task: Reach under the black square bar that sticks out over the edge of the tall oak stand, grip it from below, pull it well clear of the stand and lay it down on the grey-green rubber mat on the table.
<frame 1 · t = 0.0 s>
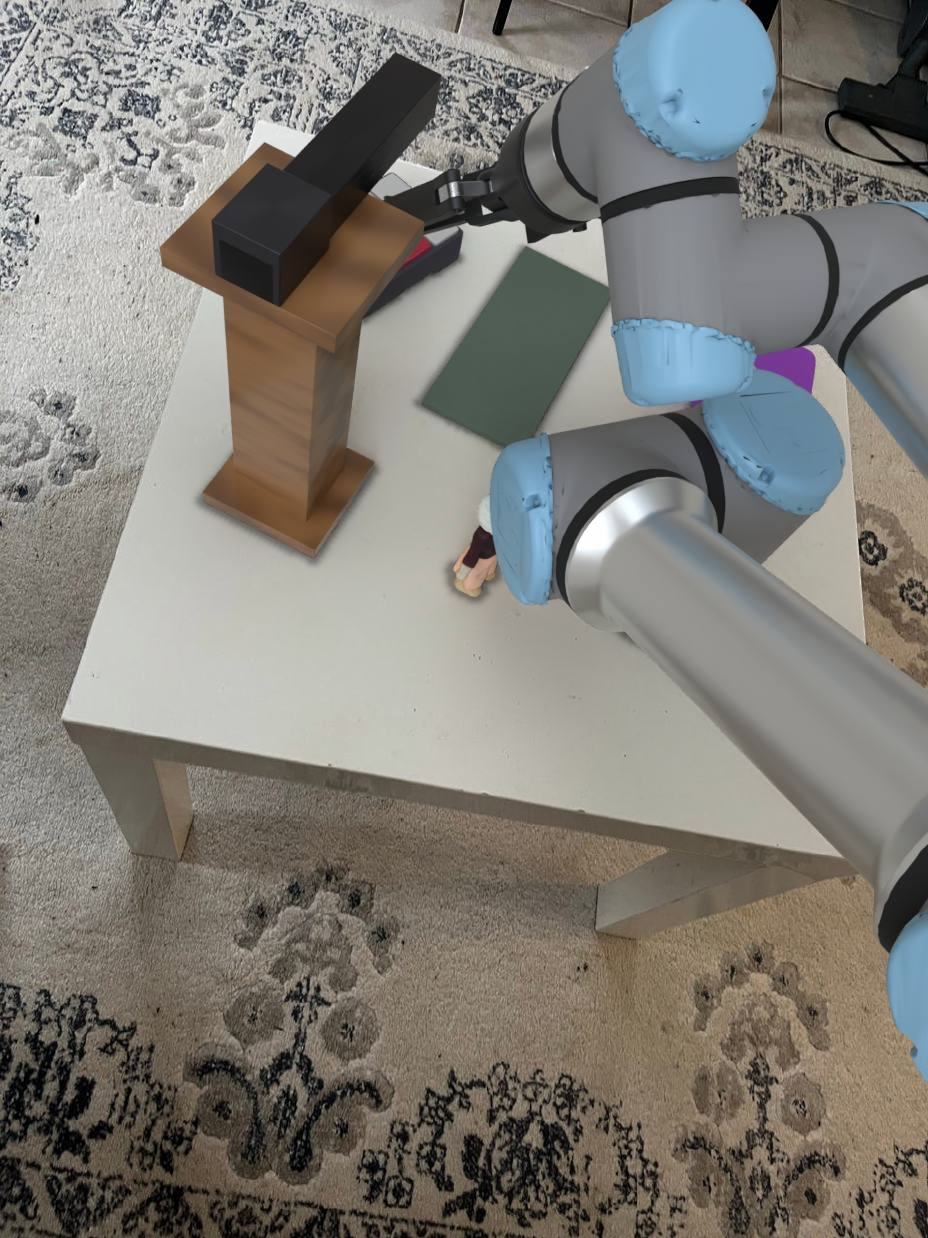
hand: (457, 234, 77), 15 cm above the table, tool tilted 35°, fingers open, 13 cm apart
black square bar: (337, 189, 58), point 28 cm above the table, touching stand
grandmother figurine: (470, 582, 80), on the table, touching arm
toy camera: (729, 415, 95), on the table
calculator: (374, 259, 95), on the table
mat: (522, 345, 93), on the table
stand: (290, 485, 81), on the table
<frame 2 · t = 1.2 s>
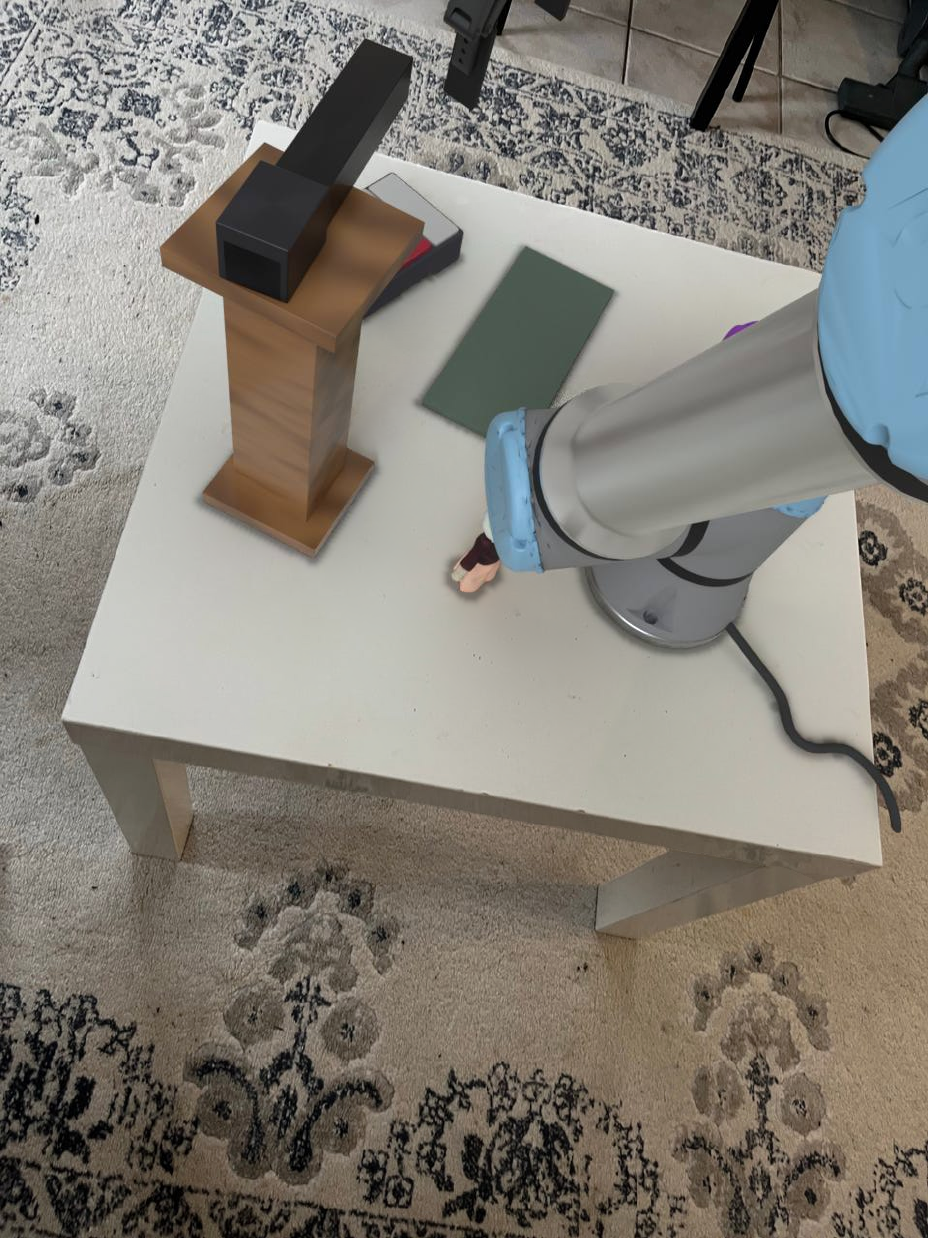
hand: (506, 52, 72), 26 cm above the table, tool pointing down, fingers open, 13 cm apart
black square bar: (324, 180, 58), point 28 cm above the table, touching stand
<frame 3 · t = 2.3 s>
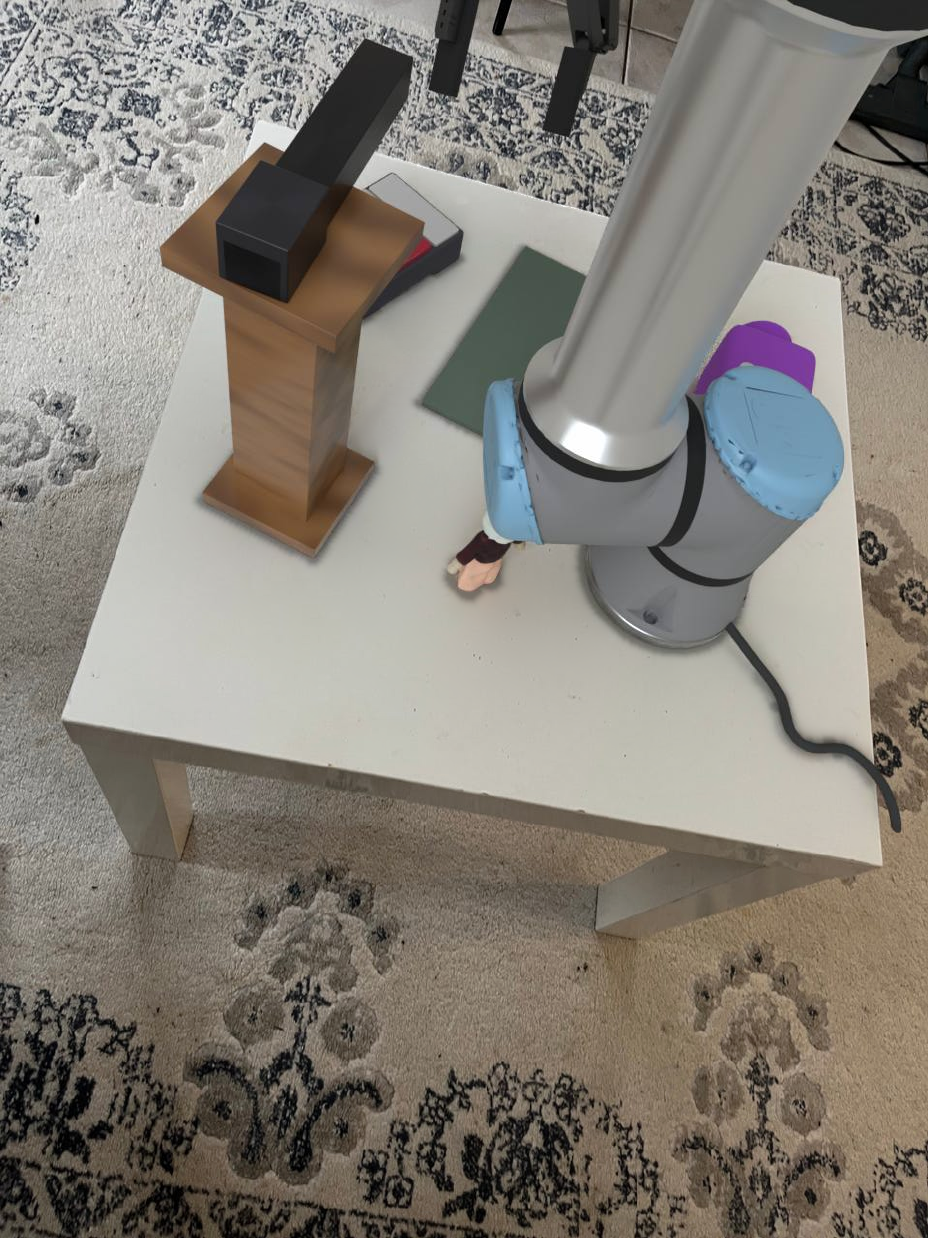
hand: (502, 115, 74), 22 cm above the table, tool tilted 35°, fingers open, 13 cm apart
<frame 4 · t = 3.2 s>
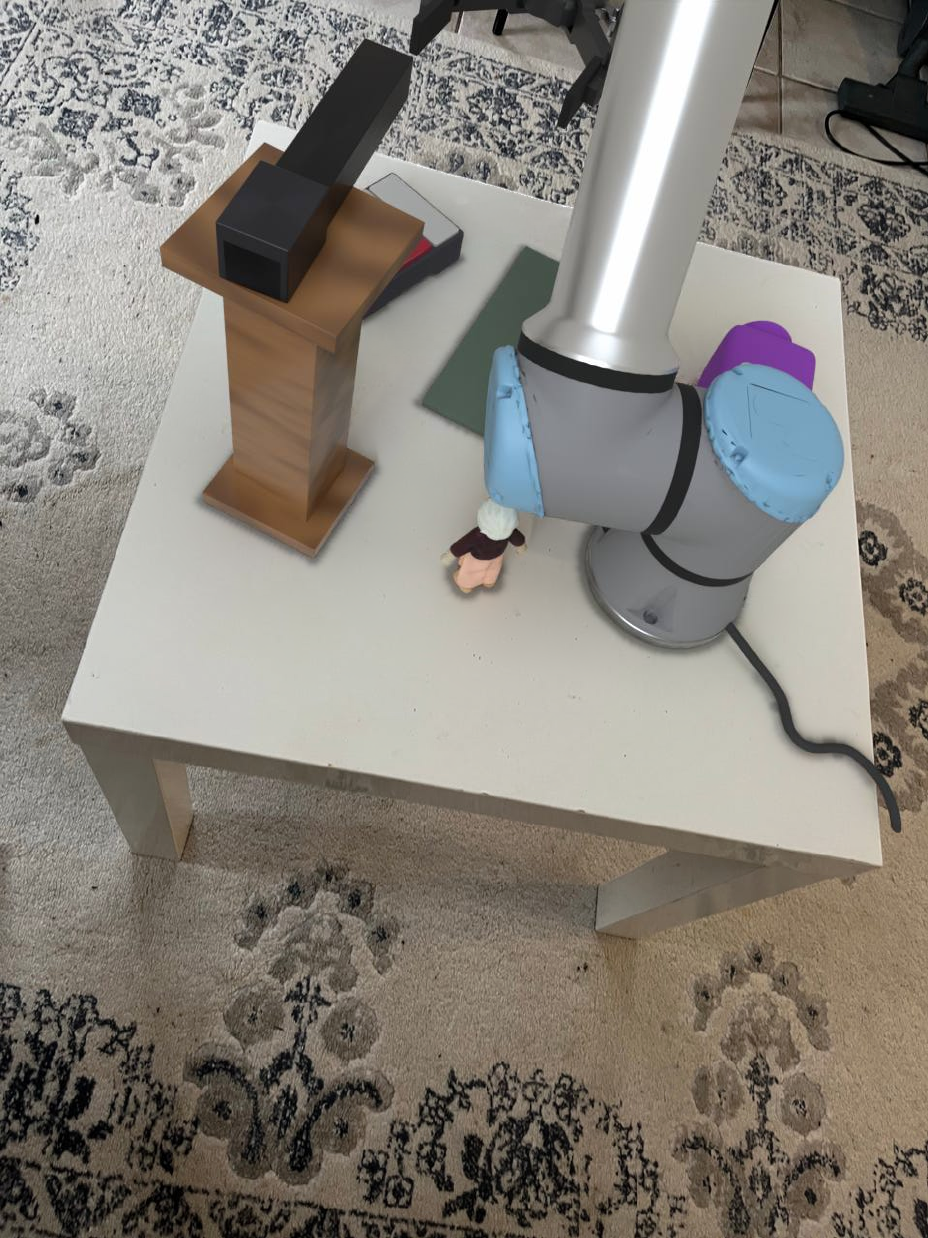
hand: (489, 74, 72), 25 cm above the table, tool horizontal, fingers open, 13 cm apart
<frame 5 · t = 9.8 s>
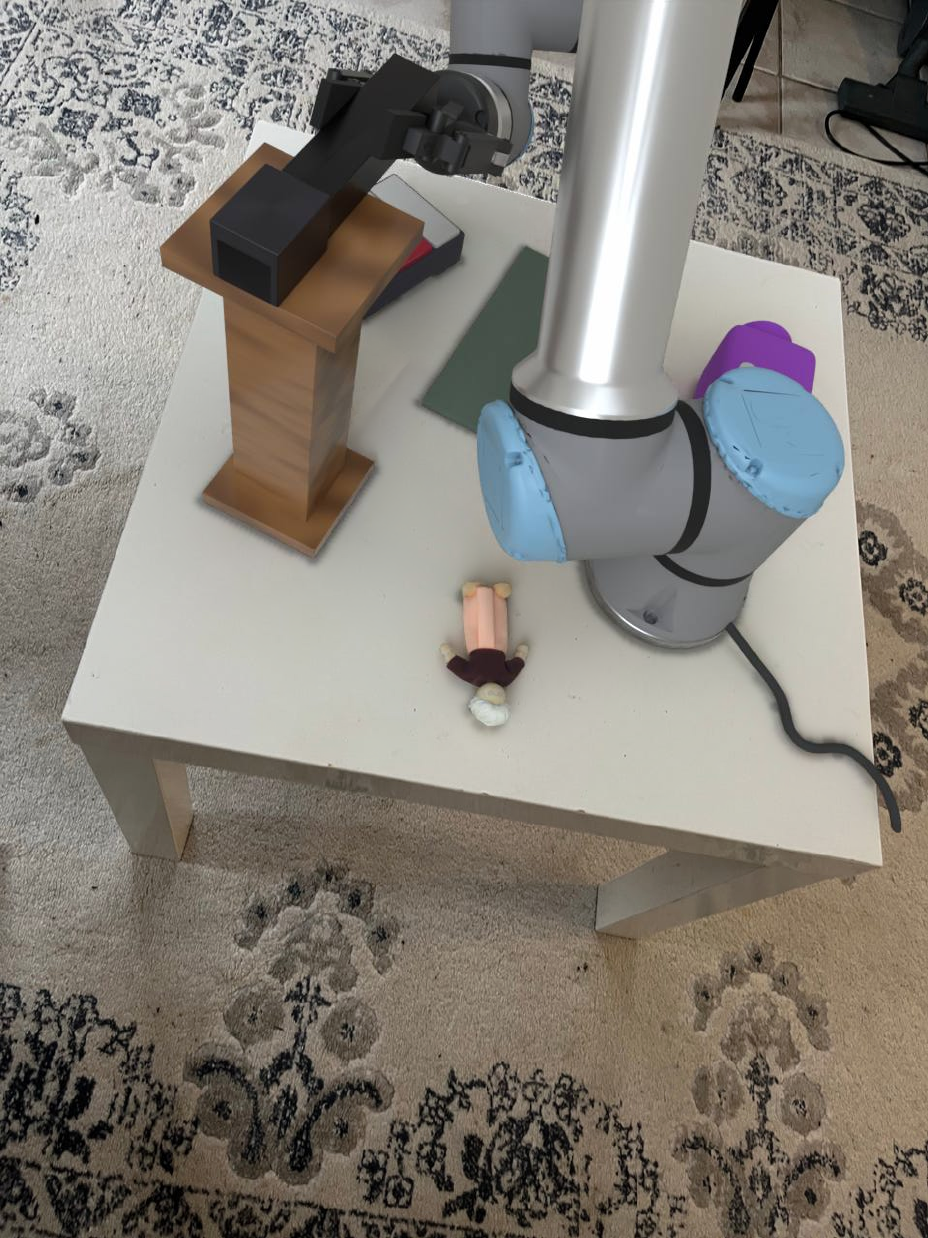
hand: (351, 119, 55), 32 cm above the table, tool pointing upward, fingers closed on black square bar, 4 cm apart
black square bar: (335, 190, 58), point 28 cm above the table, touching gripper, stand
grandmother figurine: (479, 587, 78), point 1 cm above the table
everything else where it was.
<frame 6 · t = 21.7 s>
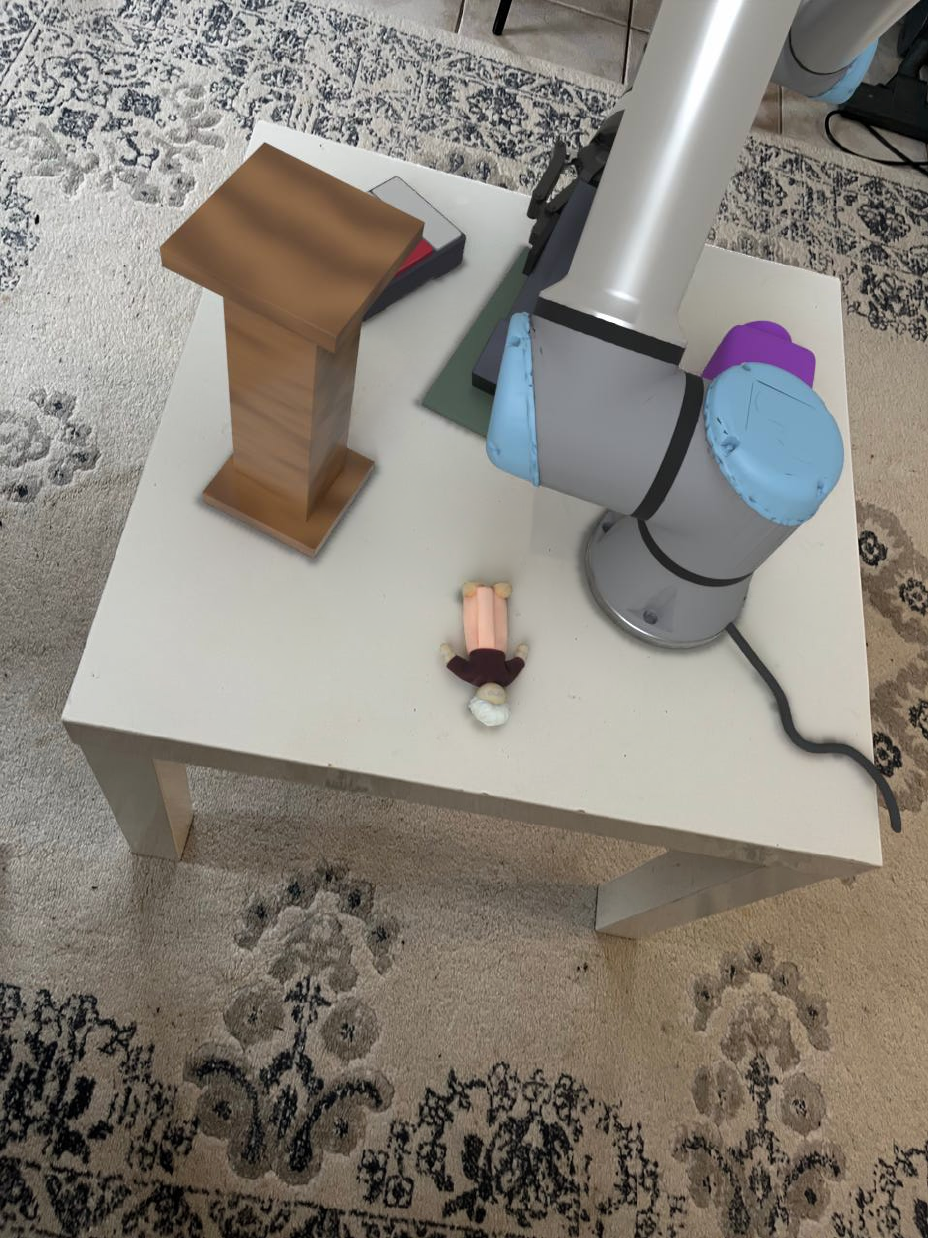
hand: (549, 273, 86), 9 cm above the table, tool horizontal, fingers closed on black square bar, 4 cm apart
black square bar: (541, 298, 89), point 5 cm above the table, tilted 26°, touching gripper, mat
everything else where it was.
when the fingers open (7 cm above the table, at t = 22.5 s): black square bar drops 3 cm, resting on mat.
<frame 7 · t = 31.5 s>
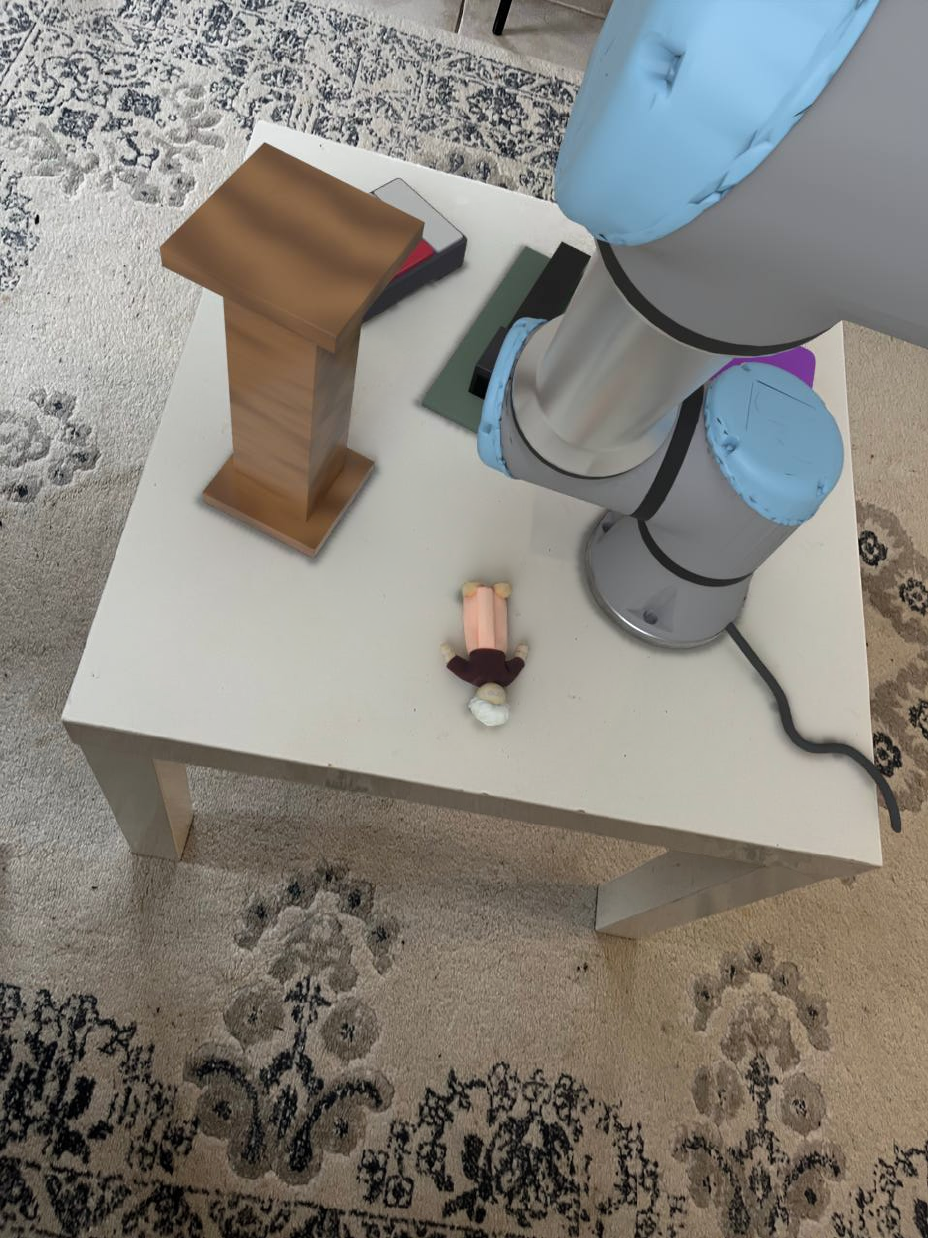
hand: (700, 50, 72), 29 cm above the table, tool pointing down, fingers open, 13 cm apart
black square bar: (530, 332, 94), point 1 cm above the table, touching mat
everything else where it was.
at the end: black square bar inside the target area on the mat (1.6 cm from its centre), point 0.6 cm above the mat's base; the gripper is holding nothing; black square bar tilted 0° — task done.
